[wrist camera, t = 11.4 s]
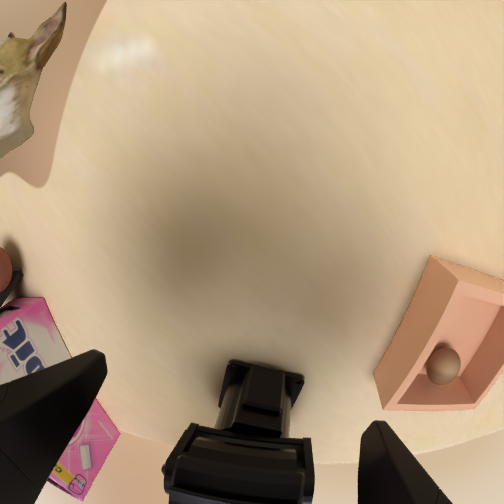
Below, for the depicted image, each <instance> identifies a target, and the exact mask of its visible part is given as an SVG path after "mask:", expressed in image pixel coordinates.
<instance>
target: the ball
mask: <svg viewBox="0 0 504 504" xmlns="http://www.w3.org/2000/svg"><path fill="white" fill-rule="evenodd" d="M460 367H461V360H460V357H459V354H458V353H457V352H456V351H455V350H454V349H452V348H448V347H444V348H440V349H438V350H436V351H435V352H434V353H432V355H431V356H430V357H429V359H428V362H427V365H426V372H427V376H428V378H429V379H430V380H431V381H432V382H433V383H435V384H438V385H444V384H448V383H450V382H451V381H453V380H454V379H455V378H456V376H457V375H458V373H459V371H460Z"/></svg>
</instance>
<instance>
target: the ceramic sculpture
mask: <svg viewBox="0 0 504 504" xmlns="http://www.w3.org/2000/svg"><path fill="white" fill-rule="evenodd" d="M66 7H67V4H66V2H64V3H63V4H62V6H61V7H60V8H59V9H58V11H57V12H56V13H55V14H54V15H53V16H52V17H50V18H49V19H48V20H46V21H45V22H43V23H42V24H41V26H40V27H39V28H38V29H37V31H36V32H35V33H34V35H33V36H32V37H31V38H30V39H28V40H26V39H20V38H15V36H14V34H13V33H12V32H10V34H9V35H8V38H7V39H6V40H4V41H2V42H0V158H2V157H3V156H4V155H6V154H7V153H8V152H9V151H11V150H13V149H14V148H16V147H18V146H20V145H21V144H22V143H23V142H25V141H26V140H27V139H29V138H30V137H31V136H32V135H33V133H34V128H33V125H32V123H31V120H30V117H29V112H30V108H31V104H32V100H33V96H34V93H35V90H36V87H37V85H38V81H39V78H40V75H41V72H42V69H43V67H44V66H45V64H46V62H47V61H48V60H49V58H50V56H51V55H52V53H53V52H54V50H55V49H56V48H57V46H58V45H59V43H60V41H61V38H62V34H63V30H64V25H65V20H66Z"/></svg>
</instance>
